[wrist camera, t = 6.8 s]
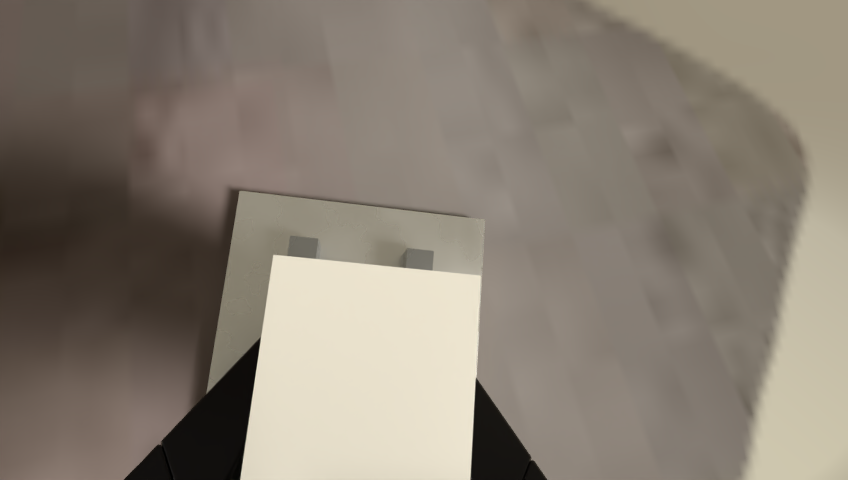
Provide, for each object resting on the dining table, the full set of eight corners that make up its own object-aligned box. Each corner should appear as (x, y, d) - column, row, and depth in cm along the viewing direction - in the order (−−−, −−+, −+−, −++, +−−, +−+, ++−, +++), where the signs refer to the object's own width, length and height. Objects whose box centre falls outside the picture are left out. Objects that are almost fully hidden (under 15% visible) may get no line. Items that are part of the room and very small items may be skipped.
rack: (456, 634, 21) (474, 684, 18) (172, 638, 19) (141, 694, 16) (479, 223, 25) (497, 210, 22) (244, 196, 23) (229, 177, 20)
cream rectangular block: (382, 452, 15) (458, 705, 5) (303, 448, 15) (205, 714, 4) (395, 311, 16) (481, 276, 6) (321, 305, 16) (273, 254, 5)
